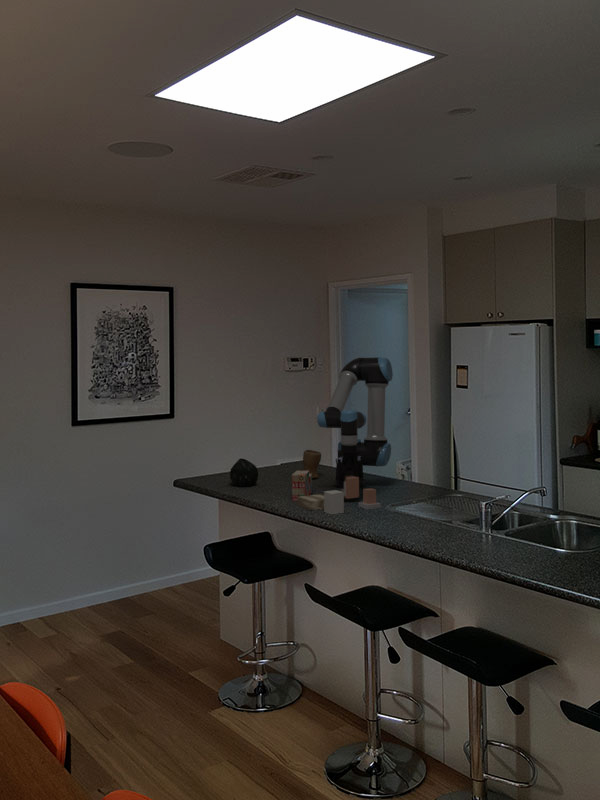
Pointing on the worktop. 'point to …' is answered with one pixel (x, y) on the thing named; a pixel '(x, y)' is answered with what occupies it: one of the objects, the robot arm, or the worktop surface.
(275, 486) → the worktop surface
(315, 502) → the birch base block
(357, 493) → the terracotta block
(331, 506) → the off-white block
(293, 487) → the stack of blocks
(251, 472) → the squash
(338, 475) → the robot arm
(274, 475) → the worktop surface
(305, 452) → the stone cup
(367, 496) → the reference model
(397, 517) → the worktop surface
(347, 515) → the worktop surface
